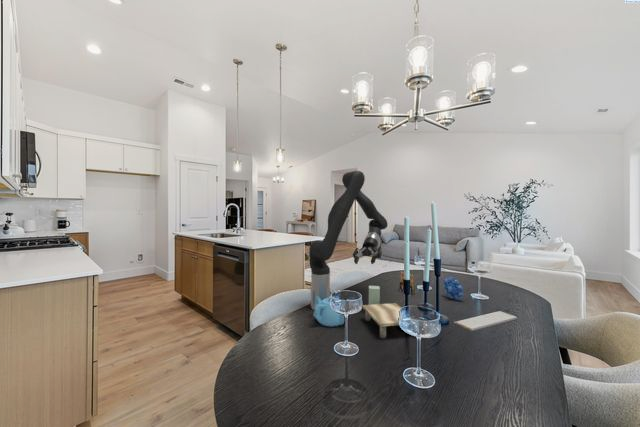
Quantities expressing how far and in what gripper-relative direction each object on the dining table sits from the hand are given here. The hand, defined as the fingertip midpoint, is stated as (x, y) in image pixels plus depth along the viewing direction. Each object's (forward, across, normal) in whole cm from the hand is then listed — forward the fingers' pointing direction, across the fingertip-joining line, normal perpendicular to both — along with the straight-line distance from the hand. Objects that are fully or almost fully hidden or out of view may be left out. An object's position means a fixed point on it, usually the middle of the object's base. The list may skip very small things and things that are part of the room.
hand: (363, 262), depth 133 cm
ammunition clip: (-19, +10, +41) cm, 46 cm away
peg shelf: (+25, +14, +13) cm, 32 cm away
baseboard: (+3, +48, +33) cm, 59 cm away
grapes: (-17, +34, +43) cm, 57 cm away
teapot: (+30, -9, +7) cm, 32 cm away
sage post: (+14, +4, +18) cm, 24 cm away
